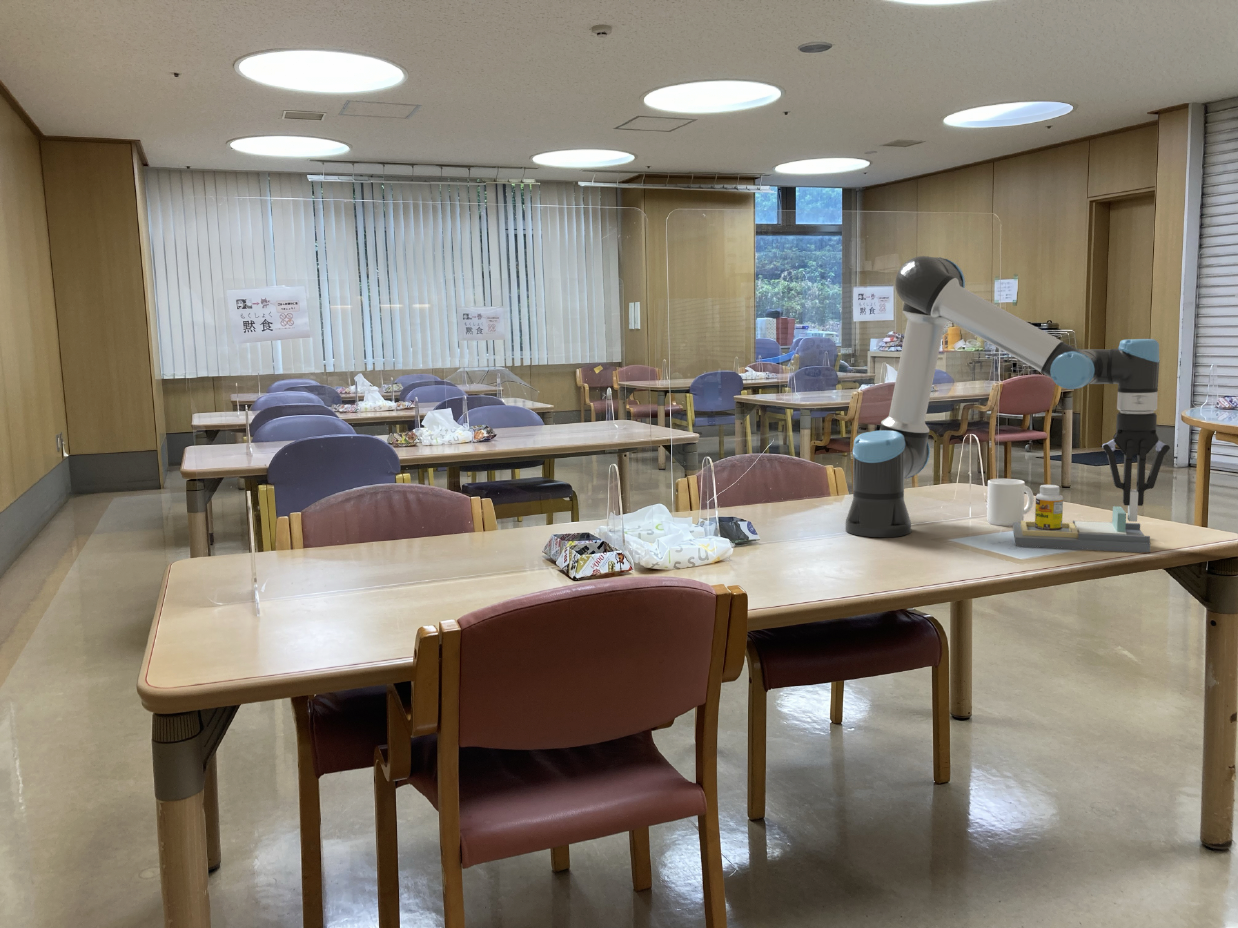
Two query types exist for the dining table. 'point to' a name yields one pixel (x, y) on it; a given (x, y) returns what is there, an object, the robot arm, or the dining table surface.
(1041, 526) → the supplement bottle
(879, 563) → the dining table surface
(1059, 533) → the housing
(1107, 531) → the cover
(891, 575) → the dining table surface
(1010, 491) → the mug
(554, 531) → the dining table surface
